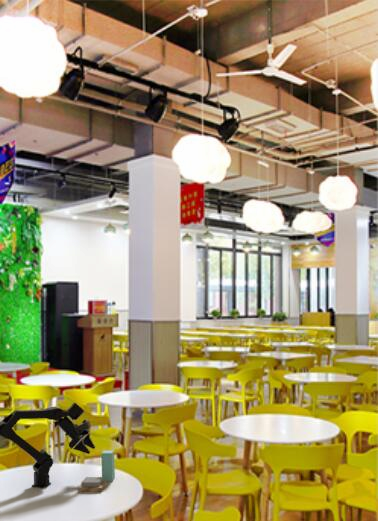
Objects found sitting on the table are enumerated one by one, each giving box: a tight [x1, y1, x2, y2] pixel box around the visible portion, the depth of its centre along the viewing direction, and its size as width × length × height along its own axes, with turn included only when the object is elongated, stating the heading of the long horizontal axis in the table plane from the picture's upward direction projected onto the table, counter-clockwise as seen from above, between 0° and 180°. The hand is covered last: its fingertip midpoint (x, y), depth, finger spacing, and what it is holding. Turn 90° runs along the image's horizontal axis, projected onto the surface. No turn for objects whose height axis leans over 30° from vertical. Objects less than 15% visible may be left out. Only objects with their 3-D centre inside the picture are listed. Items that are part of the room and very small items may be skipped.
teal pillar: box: [101, 450, 116, 482], centre depth 275 cm, size 5×5×13 cm
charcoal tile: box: [80, 476, 103, 487], centre depth 263 cm, size 8×8×2 cm
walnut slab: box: [77, 480, 108, 493], centre depth 263 cm, size 11×11×2 cm
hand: (92, 450), depth 276 cm, fingers open, 9 cm apart
